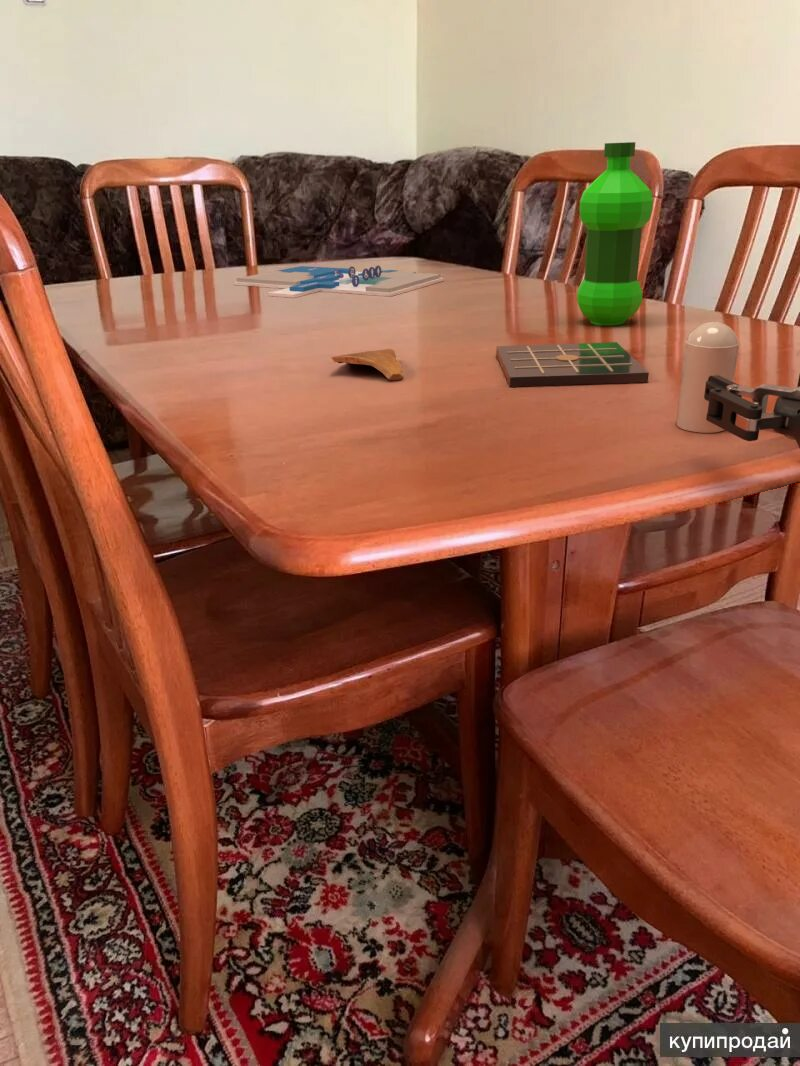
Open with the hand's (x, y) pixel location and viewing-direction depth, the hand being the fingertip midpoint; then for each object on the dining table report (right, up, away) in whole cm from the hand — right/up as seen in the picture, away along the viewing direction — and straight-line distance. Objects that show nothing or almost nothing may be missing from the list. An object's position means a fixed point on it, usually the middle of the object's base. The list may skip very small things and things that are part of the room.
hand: (756, 382), depth 71 cm
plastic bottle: (+1, +19, +56) cm, 59 cm away
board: (-10, +8, +32) cm, 34 cm away
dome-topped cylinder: (-1, -2, +10) cm, 10 cm away
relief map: (-46, +38, +99) cm, 116 cm away
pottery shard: (-34, +8, +34) cm, 49 cm away
